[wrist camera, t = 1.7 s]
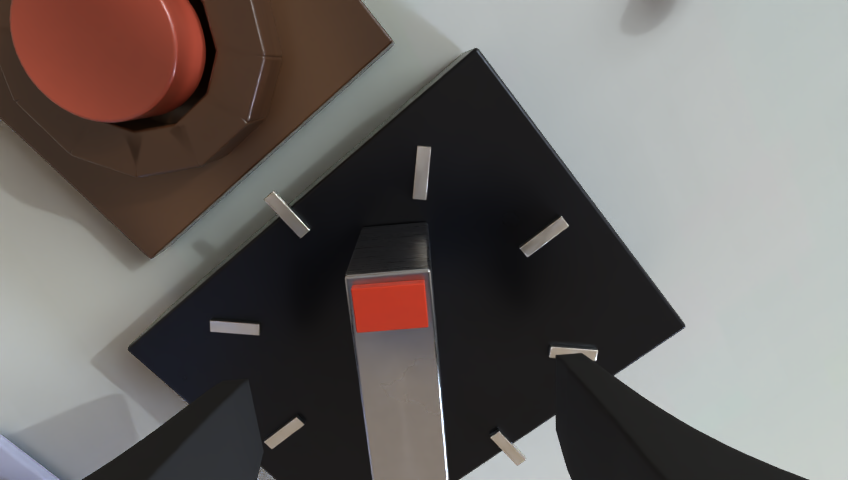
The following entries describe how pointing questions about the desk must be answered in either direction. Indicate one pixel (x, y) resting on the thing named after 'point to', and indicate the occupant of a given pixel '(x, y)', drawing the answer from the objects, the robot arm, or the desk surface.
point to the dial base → (452, 284)
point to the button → (110, 54)
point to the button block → (200, 112)
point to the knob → (397, 352)
